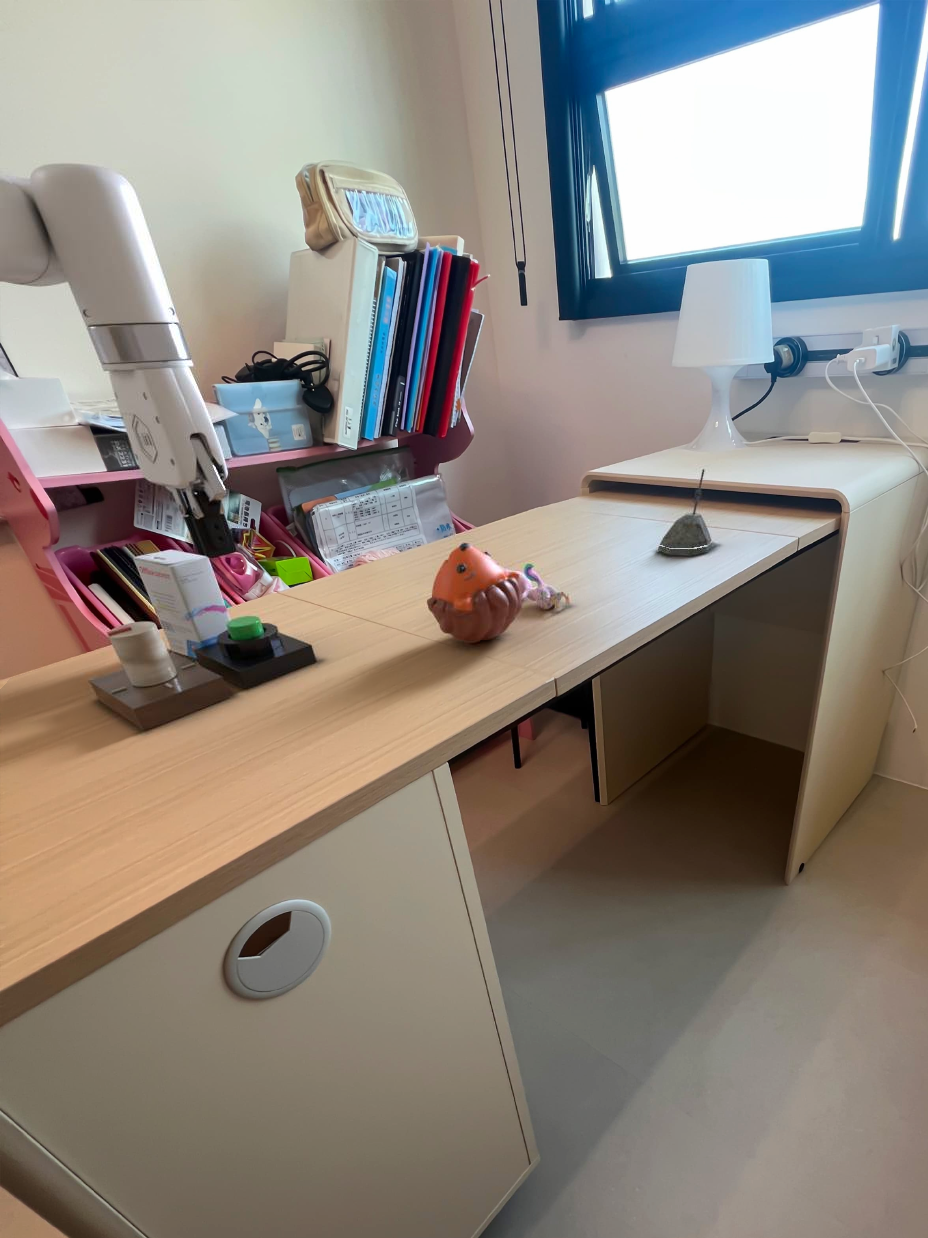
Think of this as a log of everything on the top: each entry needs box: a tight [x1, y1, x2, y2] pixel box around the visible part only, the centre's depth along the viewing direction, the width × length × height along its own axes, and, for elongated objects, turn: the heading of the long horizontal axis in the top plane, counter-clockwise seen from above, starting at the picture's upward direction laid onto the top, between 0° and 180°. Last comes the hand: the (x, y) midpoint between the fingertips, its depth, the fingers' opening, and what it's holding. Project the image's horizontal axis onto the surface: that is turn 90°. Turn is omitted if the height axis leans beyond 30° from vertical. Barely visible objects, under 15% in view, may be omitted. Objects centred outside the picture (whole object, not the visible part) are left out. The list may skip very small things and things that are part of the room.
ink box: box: [133, 549, 232, 660], centre depth 79 cm, size 9×5×12 cm, turn 58°
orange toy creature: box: [426, 542, 523, 644], centre depth 79 cm, size 12×10×11 cm
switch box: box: [194, 622, 317, 690], centre depth 77 cm, size 11×9×4 cm
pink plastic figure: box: [502, 563, 571, 613], centre depth 92 cm, size 6×6×15 cm
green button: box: [226, 615, 264, 640], centre depth 76 cm, size 4×4×2 cm
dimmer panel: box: [88, 652, 231, 731], centre depth 71 cm, size 12×9×3 cm
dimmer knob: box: [106, 621, 177, 687], centre depth 68 cm, size 4×4×6 cm
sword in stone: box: [657, 468, 717, 557], centre depth 109 cm, size 10×8×12 cm
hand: (217, 552), depth 71 cm, fingers closed
